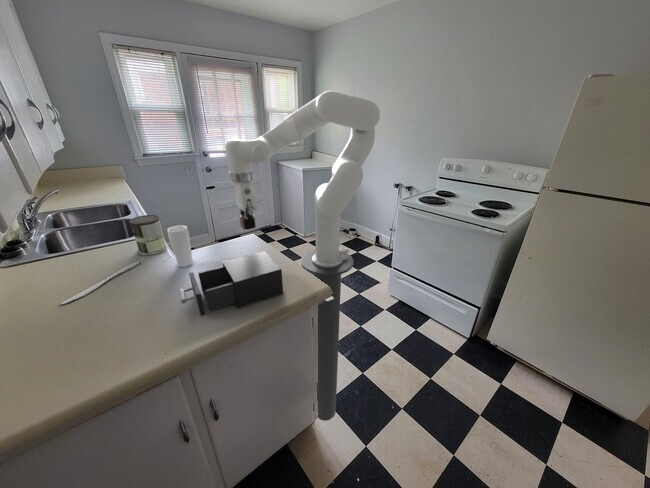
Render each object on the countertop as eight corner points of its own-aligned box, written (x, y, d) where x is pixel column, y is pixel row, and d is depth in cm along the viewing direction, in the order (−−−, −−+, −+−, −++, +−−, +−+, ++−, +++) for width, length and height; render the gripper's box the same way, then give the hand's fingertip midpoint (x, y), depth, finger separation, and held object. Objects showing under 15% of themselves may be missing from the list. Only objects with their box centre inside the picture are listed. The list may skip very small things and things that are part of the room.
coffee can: (135, 256, 110) (124, 224, 104) (144, 245, 119) (135, 215, 113) (162, 254, 112) (153, 222, 106) (170, 243, 121) (162, 214, 115)
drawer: (185, 321, 74) (180, 299, 71) (179, 296, 84) (174, 276, 81) (248, 301, 82) (245, 280, 79) (236, 280, 93) (233, 262, 90)
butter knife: (141, 262, 104) (135, 260, 105) (66, 304, 81) (58, 302, 81) (142, 263, 105) (135, 262, 105) (66, 306, 81) (59, 304, 82)
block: (252, 224, 104) (250, 213, 102) (255, 227, 101) (254, 216, 99) (240, 226, 102) (239, 215, 100) (244, 230, 99) (242, 218, 97)
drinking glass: (187, 258, 109) (178, 223, 102) (199, 262, 106) (191, 226, 100) (172, 266, 103) (162, 229, 97) (184, 270, 100) (175, 233, 94)
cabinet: (238, 308, 81) (234, 282, 77) (226, 284, 92) (222, 261, 88) (283, 293, 88) (281, 268, 84) (266, 273, 99) (264, 251, 95)
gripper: (260, 180, 89) (265, 231, 97) (245, 172, 102) (251, 218, 110) (237, 183, 85) (245, 236, 93) (224, 174, 98) (232, 221, 106)
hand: (248, 226), depth 101 cm, fingers closed on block, 4 cm apart
